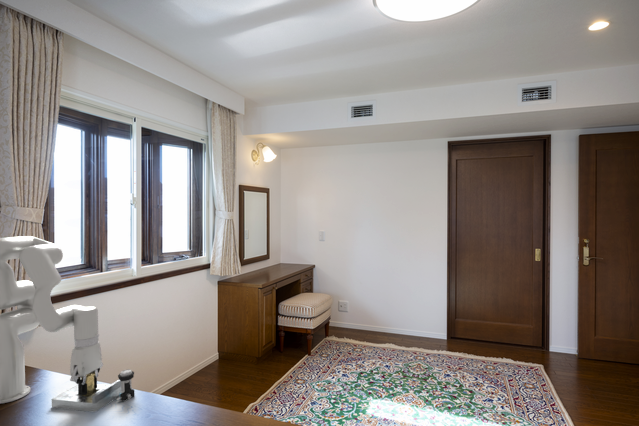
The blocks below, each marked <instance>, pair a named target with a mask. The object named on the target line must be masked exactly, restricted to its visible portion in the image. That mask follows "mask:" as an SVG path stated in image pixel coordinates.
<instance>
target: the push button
mask: <svg viewBox="0 0 639 426" xmlns="http://www.w3.org/2000/svg"><path fill="white" fill-rule="evenodd" d="M134 377H135V371H133V370H132V369H129V368H128V369H124V370H122V371H120V373H119V374H118V375H117V378H118V380H120V381H121V393H120V394H119V397H117V398H116V400H117V401H116V403H120V402H122V403H124V402H126V401H127V400H131V398H134V397H135V396H136V395H135V394H136V393H135V389H134V388H133V385H132V379H133V378H134Z"/></svg>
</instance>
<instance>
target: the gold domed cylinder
mask: <svg viewBox="0 0 639 426" xmlns="http://www.w3.org/2000/svg"><path fill="white" fill-rule="evenodd" d="M81 380H82V377H81ZM85 383H87V394H86V395H82V396H87V397H89V396H90V395H92V394H94V373H89V374H87V375H86V382H85Z"/></svg>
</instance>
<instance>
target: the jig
mask: <svg viewBox="0 0 639 426" xmlns="http://www.w3.org/2000/svg"><path fill="white" fill-rule="evenodd" d="M120 393H121V381H120V380H119V379H117V380H116V381H114V382H112V383H111V384H104V383H103V384H102V383H101V384H100V383H97V388H96V389H94V394H92V395H90V396H89V397H87V396H82V395H79V394H78V384H77V385H74V386H73V387H71V388H69V389H68V390H67V389H66V391H64V392H62V393H60V394H58V395H57V396H55V397H53V398H52V399H51V408H52V409H53V408H54V409H63V410H73V411H80V412H82V411H83V412H92V413H97V412H98V411H99V410H101V409H103V408H104V407H106V405H108V404H110V403H111V402H113V401H114V400H115V398H116V399H118V398H119V394H120ZM112 400H113V401H112Z"/></svg>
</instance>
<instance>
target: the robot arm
mask: <svg viewBox="0 0 639 426" xmlns="http://www.w3.org/2000/svg"><path fill="white" fill-rule="evenodd" d="M63 255H64V254H63V250H62V249H61V247H60V246H58V245H57V244H55V243H53V242H50V241H47V240H45V239H41V238H38V237H36V236H31V235H23V236H22V235H21V236H10V237H9V236H8V237H7V236H6V237H0V310H1V311H2V310H6V309H10V308H14V307H16V308H17V309H15V310H10V311H6V312H2V313H0V404H5V403H10V402H14V401H16V400H19V399H21V398H24V397H25V396H27V395H28V394H29V393H30V392H31V387H30V386H29V385H26V372H25V371H26V368H25V346H24V342H23V341H22V340H21V339H20V338H19V335H22V334H25V333H27V332H30V331H32V330H34V329H36V328H38V327H39V326H41V327H42V328H43V330H44V331H46V332H49V333H57V332H60V331H62V330H65V329H68V328H71V327H73V335H74V337H73V338H74V339H73V343H74V344H73V345H74V347H73V348H72V350H71V355H70V356H71V357H70V364H69V365H70V367H69V368H70V369H69V370H70V372H69V374H70V378H69V381H70V382H74V383H75V384H77V385H78V394H79V395H86V394H87V383H85V382H86V375H87V374H89V373H94V389H96V388H97V384H98V377H99V373H100V372H101V371H100V370H101V369H102V367H103V366H104V363H103V360H102V359H103V358H102V357H103V356H102V349H101V343H100V340H99V337H100V334H99V312H98V308H97V307H96V306H93V305H92V306H90V305H89V306H84V305H78V304H71V305H68V306H67V305H66V306H64V307H61V308H58V309H55V307H54V305H53V303H52V300H51V293H52V291H53V290H54V288H55V287H57V286H59V284H60V283H61V281H62V276H61V274H60V273H59V271H58V269H57V268H56V265H58V264H59V263H60V262H61V261H62V259H63ZM17 259H19V262H20V264H21V265H22V267H23V269H24V271H25V272H26V274H27V277H28V278H29V280H27V279H21V280H20V279H19V280H17V281H16V276H15V272H14V269H13V268H12V266H11V264H9V263H8V262H7V261H9V260H17ZM81 377H82V380H81Z"/></svg>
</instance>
